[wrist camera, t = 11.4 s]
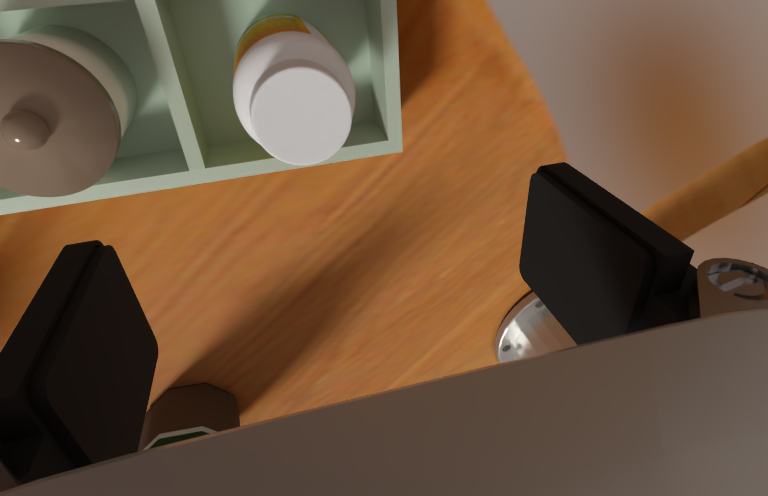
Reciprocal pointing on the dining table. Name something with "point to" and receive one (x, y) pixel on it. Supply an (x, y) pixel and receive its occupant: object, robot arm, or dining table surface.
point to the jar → (60, 110)
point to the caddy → (213, 85)
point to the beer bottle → (188, 415)
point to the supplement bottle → (292, 89)
